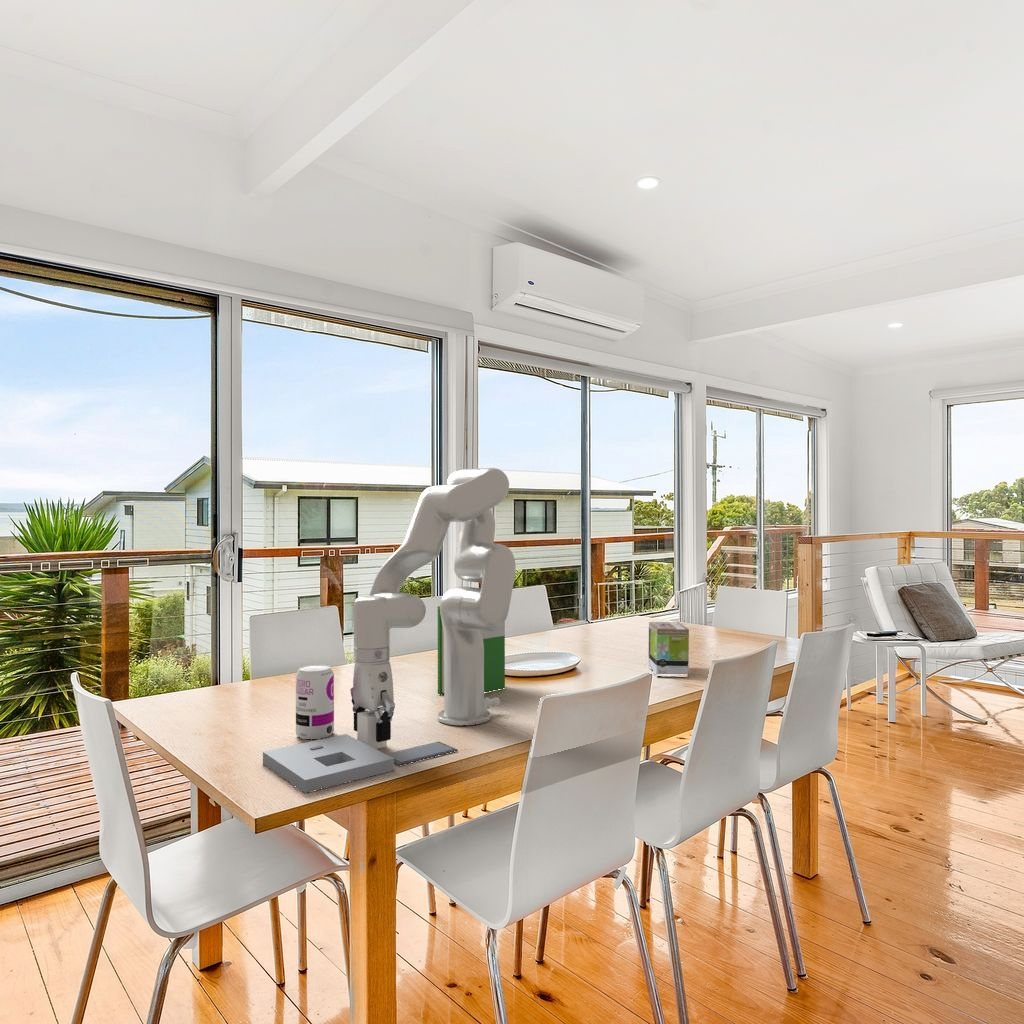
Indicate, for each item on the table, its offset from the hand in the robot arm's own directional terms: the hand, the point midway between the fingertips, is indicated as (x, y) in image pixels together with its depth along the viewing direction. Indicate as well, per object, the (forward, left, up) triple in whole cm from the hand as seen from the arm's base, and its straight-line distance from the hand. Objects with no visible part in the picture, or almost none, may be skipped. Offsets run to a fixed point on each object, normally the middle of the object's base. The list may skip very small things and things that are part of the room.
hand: (371, 735), depth 157 cm
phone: (-5, +11, -3) cm, 12 cm away
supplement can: (+6, -15, -2) cm, 16 cm away
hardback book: (-44, -24, -3) cm, 50 cm away
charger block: (0, 0, -2) cm, 2 cm away
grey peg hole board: (+13, +6, -2) cm, 14 cm away
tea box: (-105, -5, -3) cm, 105 cm away
